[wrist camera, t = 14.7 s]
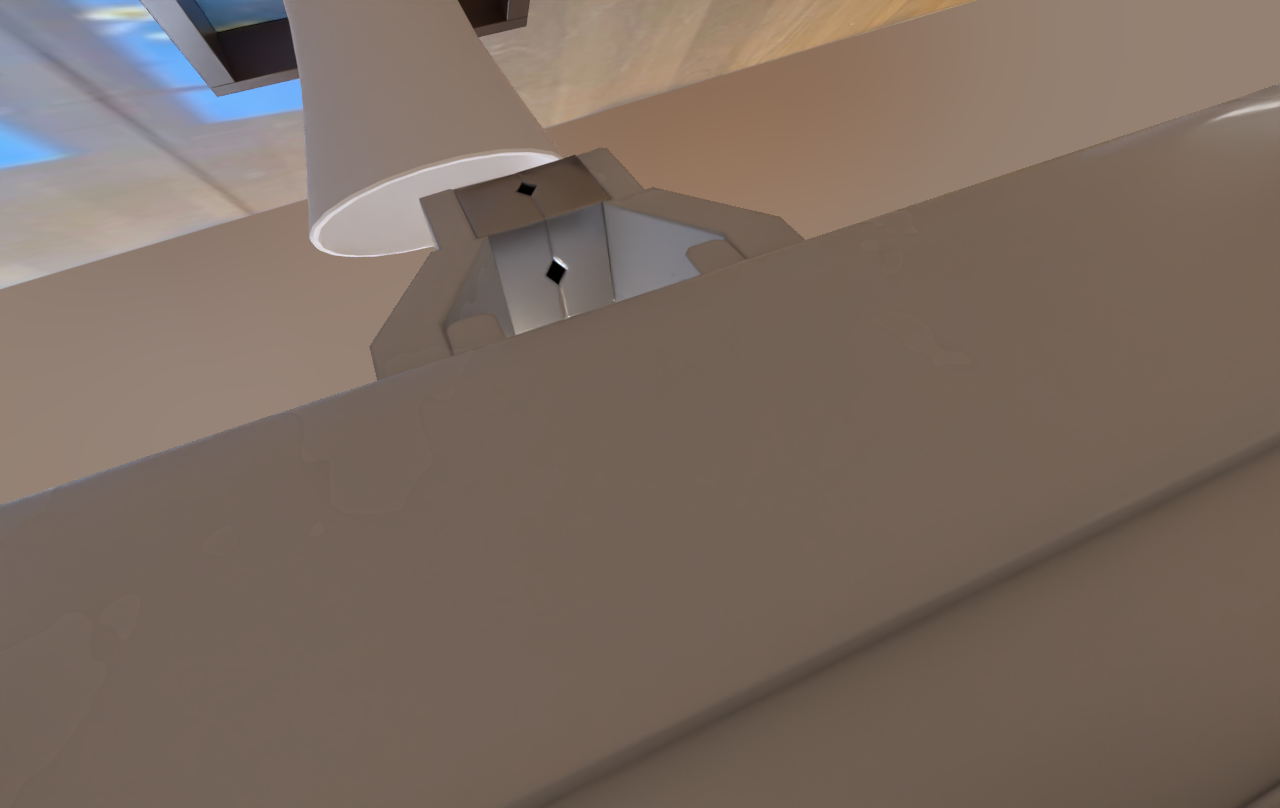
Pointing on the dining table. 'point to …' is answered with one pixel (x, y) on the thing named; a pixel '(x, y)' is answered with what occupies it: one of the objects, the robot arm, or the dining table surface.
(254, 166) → the dining table surface
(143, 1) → the dark brown flat frame
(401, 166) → the cup
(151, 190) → the dining table surface
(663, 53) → the dining table surface
